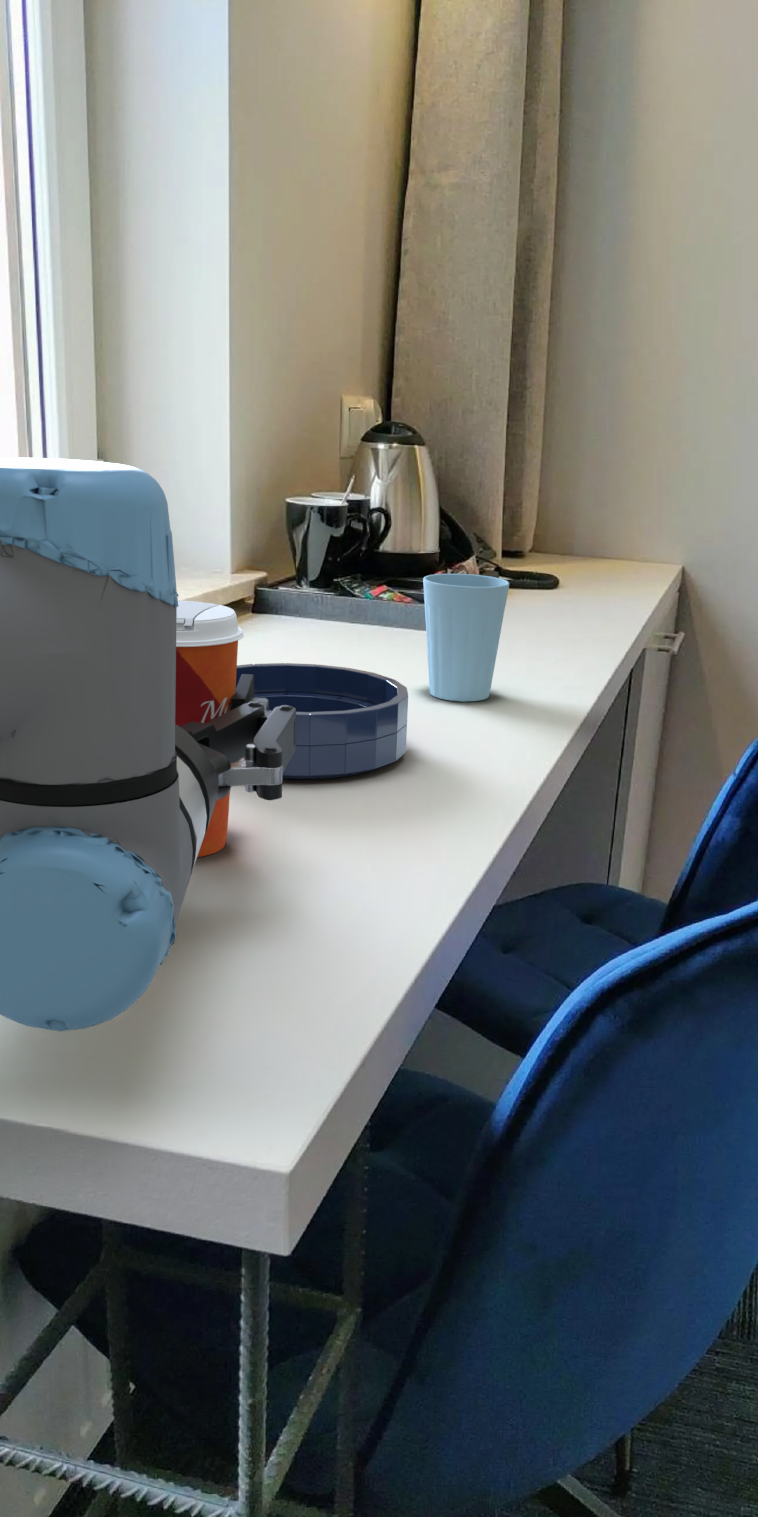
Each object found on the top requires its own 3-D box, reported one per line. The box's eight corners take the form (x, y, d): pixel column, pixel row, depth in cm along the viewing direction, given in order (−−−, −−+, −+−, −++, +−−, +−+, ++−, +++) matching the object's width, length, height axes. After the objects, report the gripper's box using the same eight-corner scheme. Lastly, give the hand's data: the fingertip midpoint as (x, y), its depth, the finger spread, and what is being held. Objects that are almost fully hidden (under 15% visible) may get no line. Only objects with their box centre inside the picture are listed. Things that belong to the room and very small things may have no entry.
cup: (416, 702, 115) (423, 583, 111) (417, 683, 122) (423, 571, 118) (502, 707, 115) (511, 588, 111) (497, 687, 122) (505, 576, 118)
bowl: (170, 779, 90) (168, 709, 88) (197, 720, 105) (197, 659, 103) (408, 787, 91) (411, 718, 89) (401, 727, 106) (404, 667, 104)
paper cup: (245, 864, 75) (245, 623, 70) (109, 865, 74) (99, 620, 69) (242, 821, 82) (242, 599, 77) (118, 821, 81) (110, 596, 76)
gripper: (-90, 881, 59) (29, 746, 80) (339, 893, 60) (345, 757, 82) (-107, 721, 56) (22, 625, 78) (344, 738, 58) (348, 639, 79)
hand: (187, 693), depth 80 cm, fingers closed on paper cup, 7 cm apart
